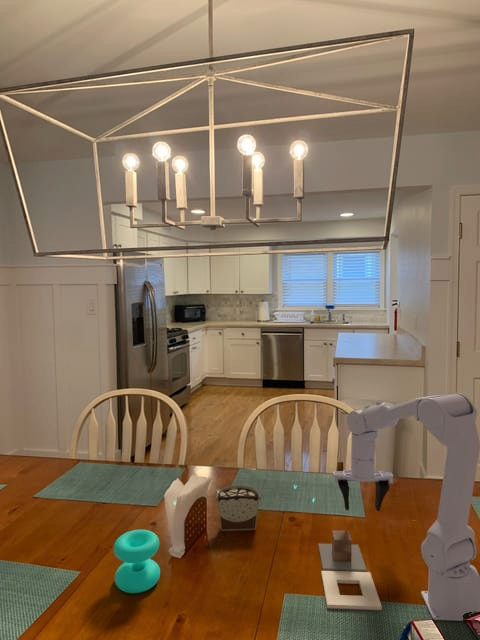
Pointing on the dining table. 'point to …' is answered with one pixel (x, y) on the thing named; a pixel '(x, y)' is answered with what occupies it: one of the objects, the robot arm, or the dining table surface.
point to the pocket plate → (349, 601)
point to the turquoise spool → (137, 561)
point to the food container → (238, 507)
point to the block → (341, 546)
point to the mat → (329, 563)
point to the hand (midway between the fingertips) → (362, 508)
